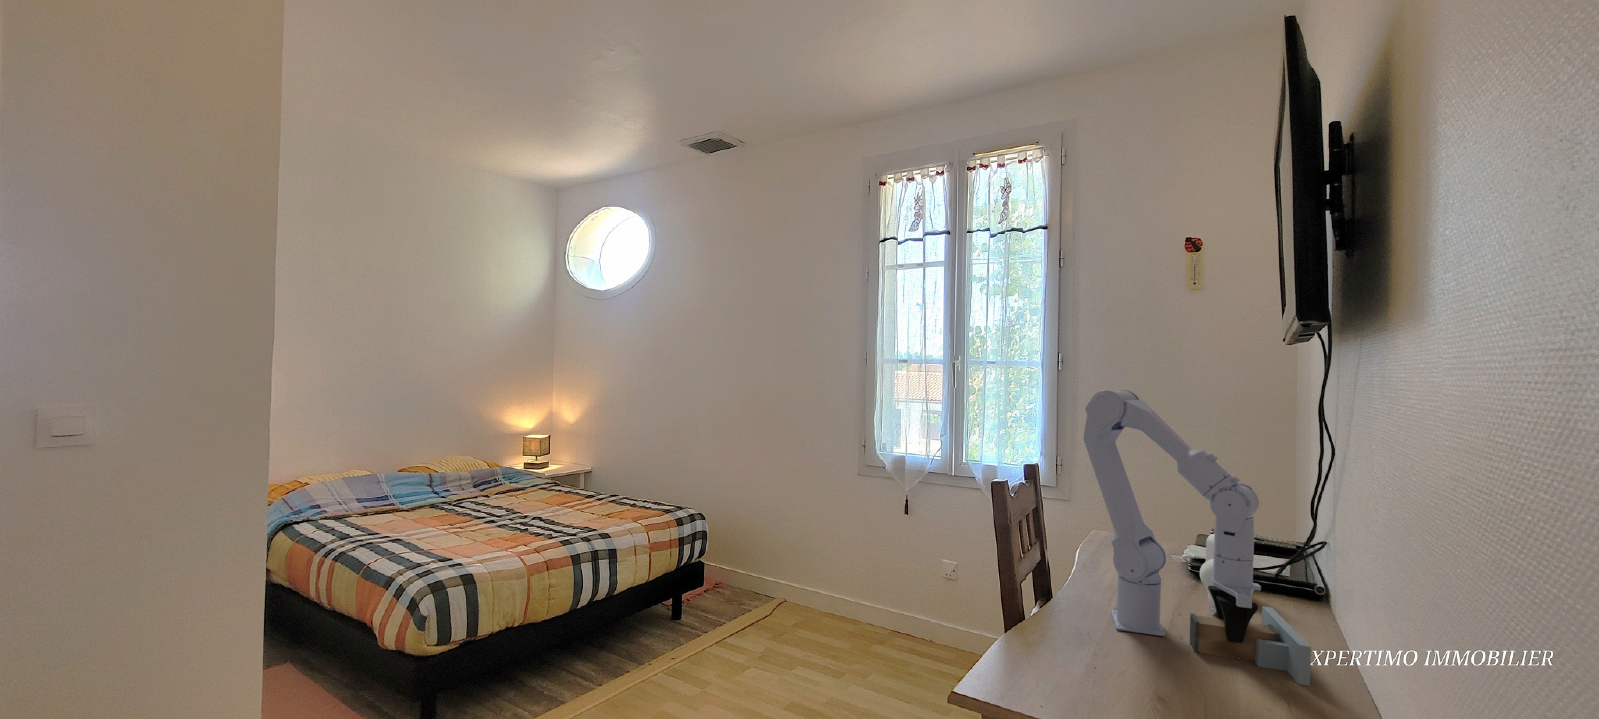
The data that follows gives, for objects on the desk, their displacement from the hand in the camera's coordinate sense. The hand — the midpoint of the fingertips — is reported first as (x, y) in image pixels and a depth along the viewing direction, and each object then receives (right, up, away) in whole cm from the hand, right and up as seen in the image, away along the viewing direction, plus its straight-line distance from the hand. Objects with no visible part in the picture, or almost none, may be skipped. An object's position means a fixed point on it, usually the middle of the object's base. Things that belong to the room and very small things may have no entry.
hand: (1230, 636), depth 116 cm
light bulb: (+9, -3, +18) cm, 20 cm away
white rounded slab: (+19, -4, +33) cm, 38 cm away
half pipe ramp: (0, -3, 0) cm, 3 cm away
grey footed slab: (+5, -3, -2) cm, 6 cm away
